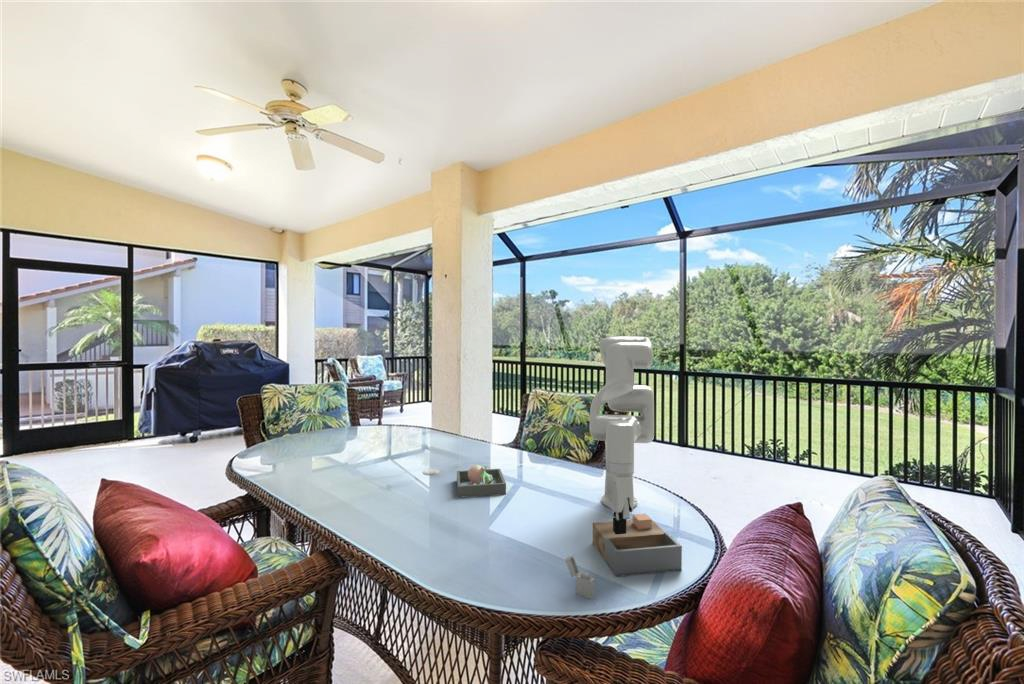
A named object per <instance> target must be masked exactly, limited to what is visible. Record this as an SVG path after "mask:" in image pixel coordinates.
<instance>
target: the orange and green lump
mask: <svg viewBox="0 0 1024 684" xmlns="http://www.w3.org/2000/svg"><path fill="white" fill-rule="evenodd" d="M487 467H488V466H487V465H484V466H481V465H480V464H475V465H473V466H470V468H469V469H468V470H469V471H468V478H469V480H470V481H468V483H467V484H466V485H477V484H481V483H482V484H492V482H493V481H494V479H493V477H492V475H489V474H487V473H486V472H485V470H486V469H487Z"/></svg>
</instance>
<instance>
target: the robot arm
mask: <svg viewBox="0 0 1024 684" xmlns="http://www.w3.org/2000/svg"><path fill="white" fill-rule="evenodd" d="M598 346H599V354H600V357H601V359H602V361H603V364H604V366H605V385H604V386H602V387H601V388H600V389H599V390H598V391H597V393H596V394H595V395H594V397H593V398H592V400H591V403H590V408H589V425H588V426H589V427H588V428H589V433H590V436H591V437H592V438H593V440H596V441H600V442H601V441H603V442H604V444H605V481H604V494H603V495H602V496H601V499H600V500H601V503H602V504H603V505H604V506H606V507H608V508H611V510H612V521H613V532H614V533H615V534H626V520H630V513H632V512H634V508H635V507H637V506H638V499H637V498H636V497H635V495H634V474H635V444H649V443H652V442H653V440H654V436H655V397H654V396H655V395H654V391H653V390H652V388H651V387H650V386H648V385H645V384H635V382H634V381H635V377H634V375H635V373H634V372H635V371H634V369H650V368H651V367H652V366H653V363H654V350H653V345H652V341H651V340H650V338H649V337H647V336H622V335H621V336H619V335H618V336H607V337H603V338H601V340H600V341H599V345H598ZM605 404H607V405H608V408H609V409H610V410H612V411H614V412H615V411H616V412H623V413H624V412H628V413H639V414H640V415H631V414H630V415H629V414H628V415H627V414H602V413H601V414H600V411H601V408H602V407H603V406H604V405H605Z"/></svg>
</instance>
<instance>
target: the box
mask: <svg viewBox="0 0 1024 684" xmlns="http://www.w3.org/2000/svg"><path fill="white" fill-rule="evenodd" d="M682 552H683V547H682V545H681V544H680V543H679V542H678V541H677V540H676V539H675V538H674V537H673V536H672V535H671V534H670V533H669V532H668V531H664V546H658V547H646V548H635V549H623V550H617V549H616V547H615V546H614V545H613V543H612V542H611V541H610V540H609V538H608V537H605V560H604V562H605V563H606V565H607V567H608V568H609V569H610V570H611V572H612V574H613V575H614V577H616V578H618V577H628V576H636V575H648V574H649V575H650V574H658V573H660V574H661V573H668V572H678V571H679V572H680V571H682V568H683V567H682V559H683V557H682V555H683V554H682Z"/></svg>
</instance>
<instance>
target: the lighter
mask: <svg viewBox="0 0 1024 684" xmlns="http://www.w3.org/2000/svg"><path fill="white" fill-rule="evenodd" d="M564 560H565V562H566V566H567V568H568V570H569V573H570V576H571V577H575V581H576V583H575V585H576V587H575V590H576V592H575V593H576V595H578V596H581V597H584V598H586V599H589V600H593V599H594V598H595V578H594V577H591V575H590V573H589V572H587V571H583V570H582V571H581V572H580V570H579V568H578V565H577V563H576V560H575V557H574V556H573V555H569V556H567V557H566V558H565V559H564Z"/></svg>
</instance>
